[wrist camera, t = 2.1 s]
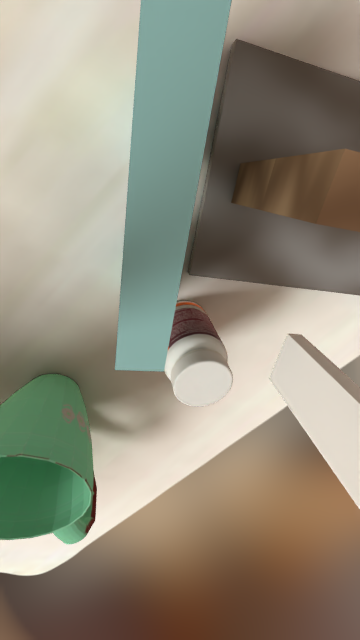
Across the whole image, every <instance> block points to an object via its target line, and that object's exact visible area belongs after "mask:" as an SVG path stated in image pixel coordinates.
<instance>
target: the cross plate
mask: <svg viewBox="0 0 360 640" xmlns="http://www.w3.org/2000/svg"><path fill="white" fill-rule="evenodd" d="M231 1H232V0H141V9H140V23H139V37H138V52H137V66H136V80H135V94H134V108H133V122H132V136H131V150H130V164H129V178H128V192H127V206H126V220H125V234H124V249H123V263H122V277H121V291H120V305H119V319H118V333H117V347H116V361H115V370H132V371H162V372H164V368H165V363H166V357H167V352H168V346H169V341H170V335H171V330H172V324H173V319H174V313H175V308H176V302H177V297H178V291H179V286H180V280H181V275H182V269H183V264H184V259H185V253H186V248H187V242H188V237H189V231H190V226H191V220H192V215H193V209H194V204H195V198H196V193H197V187H198V182H199V176H200V171H201V165H202V160H203V154H204V149H205V143H206V138H207V132H208V127H209V121H210V116H211V110H212V105H213V99H214V94H215V88H216V83H217V77H218V72H219V66H220V61H221V55H222V50H223V44H224V39H225V33H226V28H227V22H228V17H229V11H230V6H231Z"/></svg>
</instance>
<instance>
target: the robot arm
mask: <svg viewBox="0 0 360 640" xmlns="http://www.w3.org/2000/svg"><path fill="white" fill-rule="evenodd" d="M269 379H270V381H271V382H272V384H273V385H274V387H275V388H276V389H277V391H278V392H279V394H280V395H281V397H282V398H283V400H284V401H285V402H286V404H287V405H288V407H289V408H290V410H291V411H292V413H293V414H294V415H295V417H296V418H297V420H298V421H299V422H300V424H301V425H302V427H303V428H304V430H305V431H306V433H307V434H308V435H309V437H310V438H311V439H312V441H313V443H314V444H315V446H316V447H317V448H318V450H319V451H320V453H321V454H322V456H323V457H324V458H325V460H326V461H327V463H328V464H329V465H330V467H331V469H332V470H333V471H334V473H335V474H336V476H337V477H338V479H339V480H340V482H341V483H342V484H343V486H344V487H345V489H346V490H347V492H348V493H349V494H350V496H351V497H352V499H353V500H354V502H355V503H356V505H357V506H358V507H359V509H360V387H359V386H358V385H357V384H356V383H354V381H352V380H351V379H350V378H349V377H348V376H347V375H346V374H345V373H343V372H342V371H341V370H340V369H339V368H338V367H337V366H336V365H335V364H333V363H332V362H331V361H330V360H329V359H328V358H327V357H326V356H325V355H323V354H322V353H321V352H320V351H319V350H318V349H317V348H316V347H315V346H313V345H312V344H311V343H310V342H309V341H308V340H307V339H306V338H305V337H303V336H302V335H298V334H287V336H286V339H285V341H284V343H283V346H282V348H281V351H280V353H279V356H278V358H277V361H276V363H275V365H274V368H273V370H272V373H271V375H270V378H269Z"/></svg>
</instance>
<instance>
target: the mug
mask: <svg viewBox="0 0 360 640" xmlns="http://www.w3.org/2000/svg"><path fill="white" fill-rule="evenodd" d="M96 494H97V487H96V482H95V477H94V471H93V458H92V443H91V435H90V427H89V422H88V417H87V412H86V407H85V404H84V401H83V398H82V395H81V392H80V389H79V387H78V385H77V384H76V383H75V382H74V380H72V379H70V378H69V377H67V376H64V375H60V374H45V375H41V376H39V377H37V378H35V379H33V380H32V381H30V382H29V383H28V384H26V385H25V386H23V387H22V388H21V389H19V390H18V391H16V392H15V393H14V394H13V395H12V396H11V397H9V398H8V399H7V400H6V401H5V402H4V403H2V404H1V405H0V540H14V539H25V538H33V537H37V536H42V535H46V534H50V533H54V535H55V536H56V537H57V538H59V539H60V540H61V541H63V542H64V543H66V544H74V543H76V542H79V541H80V540H82V539H83V538H84V537H85V536H86V535H87V533H88V532H89V530H90V528H91V526H92V525H93V523H94V521H95V514H96Z"/></svg>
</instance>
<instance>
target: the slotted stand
mask: <svg viewBox="0 0 360 640" xmlns="http://www.w3.org/2000/svg"><path fill="white" fill-rule="evenodd" d="M188 273H189V274H190V275H194V276H203V277H211V278H220V279H228V280H236V281H245V282H253V283H261V284H270V285H278V286H286V287H295V288H303V289H312V290H320V291H328V292H337V293H345V294H353V295H360V81H357V80H354V79H352V78H349V77H346V76H343V75H340V74H337V73H334V72H331V71H328V70H325V69H322V68H320V67H317V66H314V65H311V64H308V63H305V62H302V61H299V60H296V59H293V58H291V57H288V56H285V55H282V54H279V53H276V52H273V51H270V50H267V49H264V48H262V47H259V46H256V45H253V44H250V43H247V42H244V41H241V40H238V39H236V40H235V42H234V43H233V44H232V47H231V52H230V57H229V63H228V68H227V73H226V78H225V83H224V89H223V94H222V99H221V104H220V109H219V114H218V120H217V125H216V130H215V135H214V140H213V145H212V151H211V156H210V161H209V166H208V171H207V176H206V182H205V187H204V192H203V197H202V202H201V208H200V213H199V218H198V223H197V228H196V233H195V239H194V244H193V249H192V254H191V259H190V264H189V270H188Z"/></svg>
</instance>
